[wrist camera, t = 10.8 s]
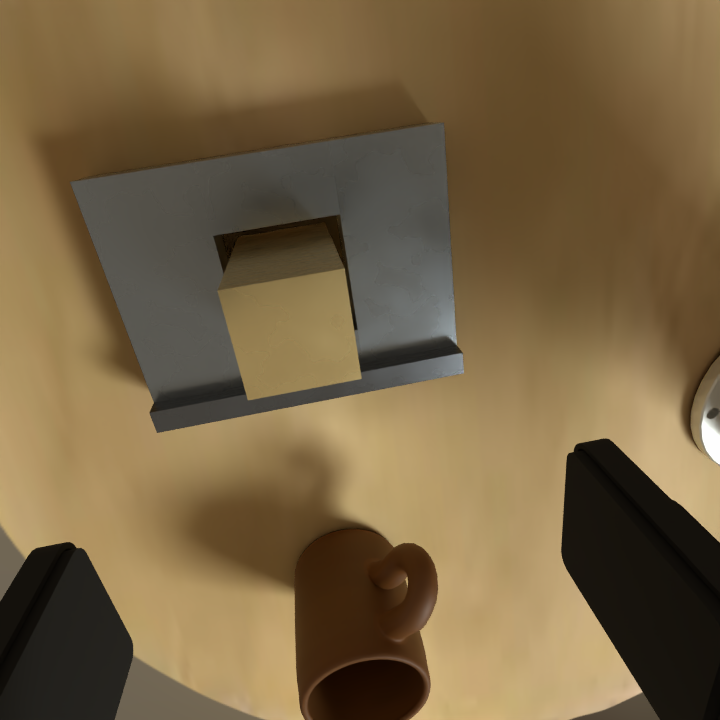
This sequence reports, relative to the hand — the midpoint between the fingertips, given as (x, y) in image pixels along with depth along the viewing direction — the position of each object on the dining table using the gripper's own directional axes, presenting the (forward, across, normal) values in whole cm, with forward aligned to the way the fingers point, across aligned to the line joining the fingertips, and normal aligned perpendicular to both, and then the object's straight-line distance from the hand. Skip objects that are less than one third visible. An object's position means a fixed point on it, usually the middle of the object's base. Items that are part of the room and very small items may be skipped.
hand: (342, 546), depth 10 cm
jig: (+19, +1, -1) cm, 19 cm away
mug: (+19, 0, +19) cm, 27 cm away
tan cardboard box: (+19, +1, -1) cm, 19 cm away
